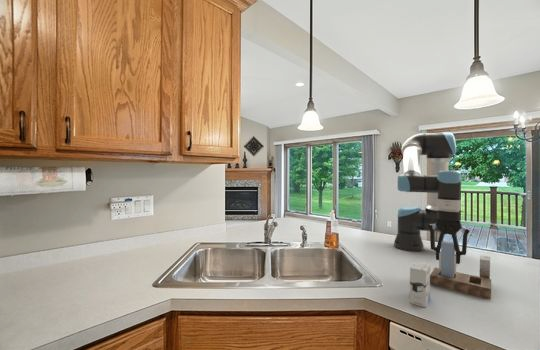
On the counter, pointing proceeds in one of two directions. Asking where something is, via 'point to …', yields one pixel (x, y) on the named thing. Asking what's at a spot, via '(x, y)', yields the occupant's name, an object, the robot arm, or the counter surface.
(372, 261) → the counter surface
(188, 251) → the counter surface
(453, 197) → the robot arm
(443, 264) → the square bit
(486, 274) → the grey upright block
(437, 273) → the bit holder block
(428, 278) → the ink box
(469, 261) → the counter surface
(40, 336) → the counter surface
